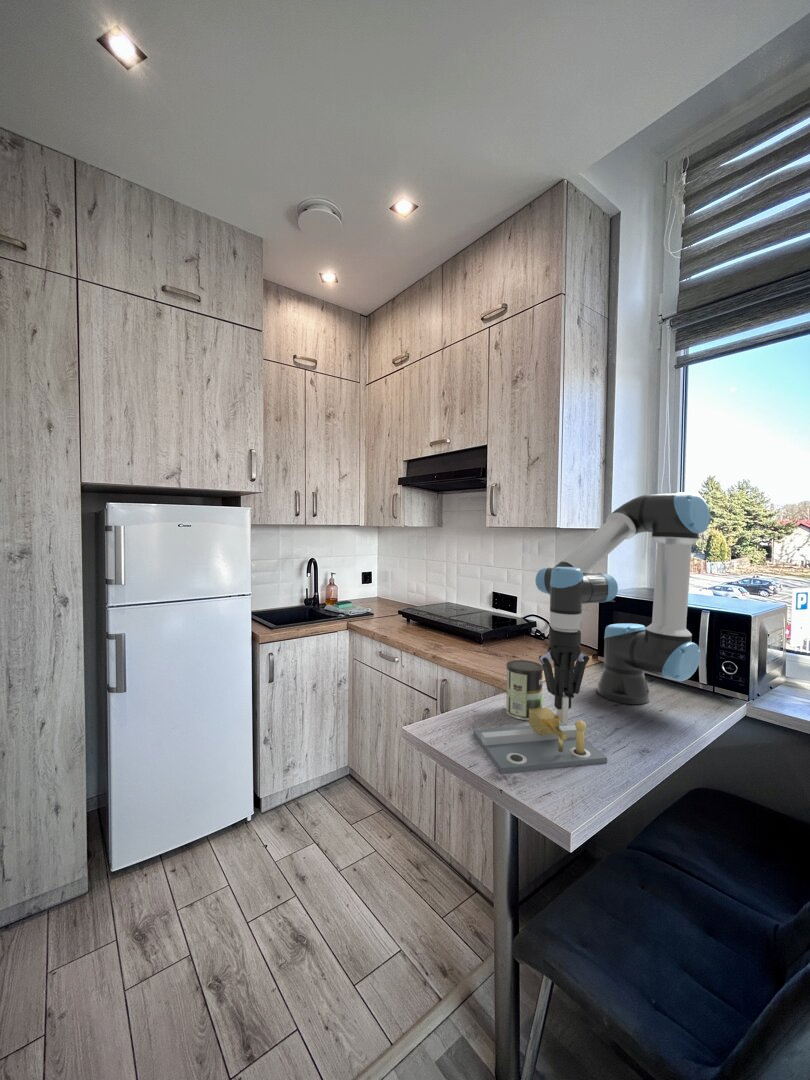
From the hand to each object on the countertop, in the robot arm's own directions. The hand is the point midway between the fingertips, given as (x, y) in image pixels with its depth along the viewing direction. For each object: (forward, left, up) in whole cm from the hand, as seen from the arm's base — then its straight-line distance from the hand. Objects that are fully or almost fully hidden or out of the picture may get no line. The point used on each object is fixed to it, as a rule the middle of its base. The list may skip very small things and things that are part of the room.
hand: (562, 720), depth 109 cm
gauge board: (+8, +2, -5) cm, 10 cm away
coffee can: (+2, -17, -5) cm, 18 cm away
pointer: (+5, +3, -3) cm, 7 cm away
